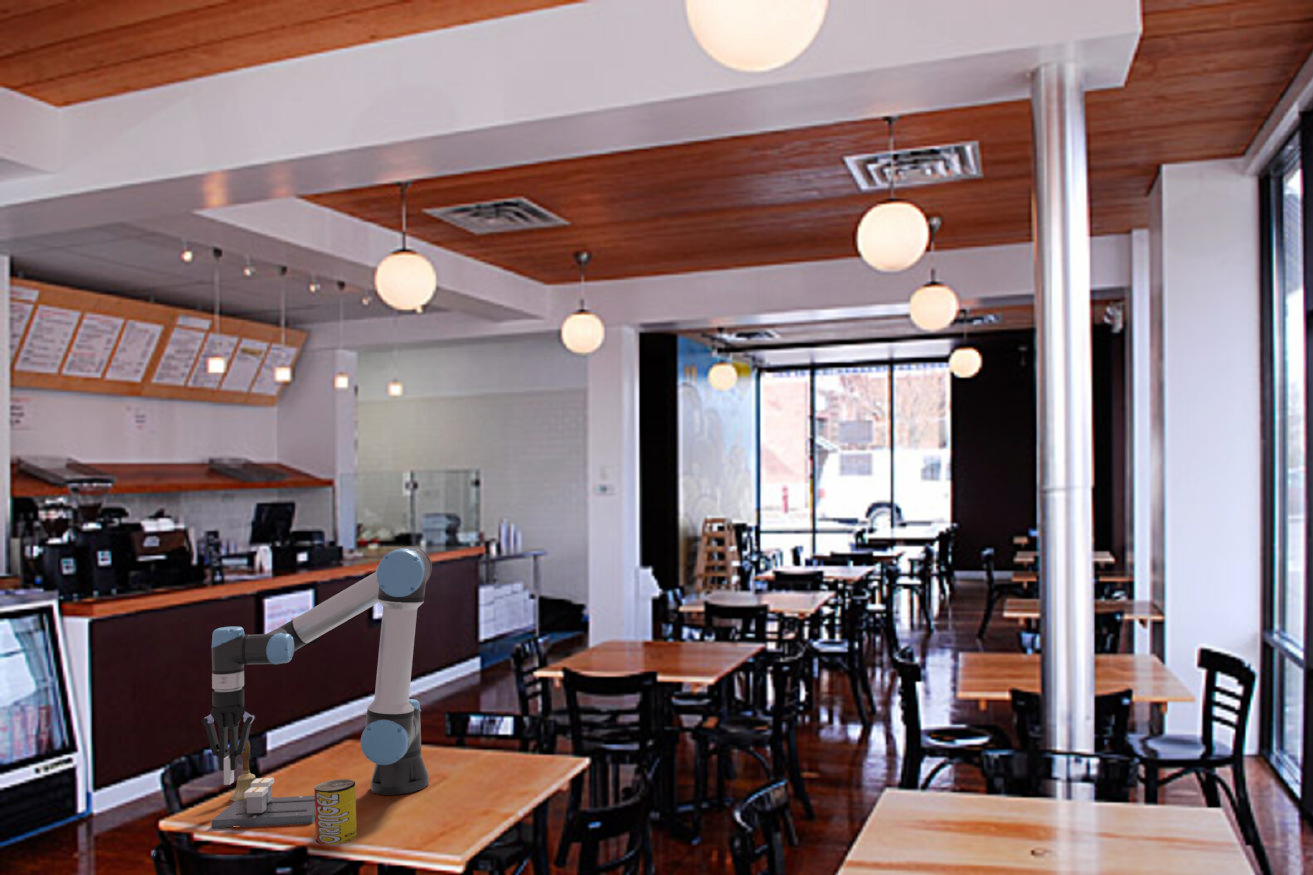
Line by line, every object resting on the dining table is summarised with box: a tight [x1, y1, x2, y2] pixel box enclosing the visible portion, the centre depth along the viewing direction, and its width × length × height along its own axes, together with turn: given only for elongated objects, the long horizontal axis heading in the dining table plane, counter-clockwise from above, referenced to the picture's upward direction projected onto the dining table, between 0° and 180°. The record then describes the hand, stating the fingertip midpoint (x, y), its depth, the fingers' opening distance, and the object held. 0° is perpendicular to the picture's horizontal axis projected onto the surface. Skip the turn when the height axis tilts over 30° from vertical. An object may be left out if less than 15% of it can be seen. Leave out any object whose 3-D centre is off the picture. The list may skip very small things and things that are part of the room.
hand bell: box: [229, 740, 257, 802], centre depth 269 cm, size 8×8×16 cm
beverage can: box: [313, 778, 358, 846], centre depth 234 cm, size 9×9×12 cm
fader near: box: [244, 786, 268, 814], centre depth 248 cm, size 4×4×5 cm
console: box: [211, 795, 315, 830], centre depth 252 cm, size 24×16×2 cm, turn 91°
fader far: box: [251, 776, 275, 803], centre depth 256 cm, size 4×4×5 cm
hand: (229, 782), depth 256 cm, fingers closed
